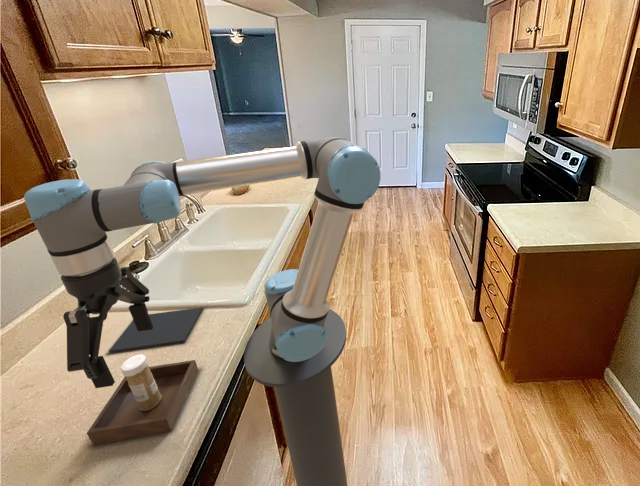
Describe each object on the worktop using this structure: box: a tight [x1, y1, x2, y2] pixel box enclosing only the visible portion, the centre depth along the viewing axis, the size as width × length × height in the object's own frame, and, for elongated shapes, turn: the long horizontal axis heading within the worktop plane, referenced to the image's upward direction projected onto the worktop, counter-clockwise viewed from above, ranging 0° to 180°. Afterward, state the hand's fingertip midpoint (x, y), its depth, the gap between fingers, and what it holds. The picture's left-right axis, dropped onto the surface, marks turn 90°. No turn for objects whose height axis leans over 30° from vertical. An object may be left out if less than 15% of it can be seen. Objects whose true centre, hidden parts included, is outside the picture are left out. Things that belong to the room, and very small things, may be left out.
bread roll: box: [231, 184, 251, 195], centre depth 209 cm, size 10×15×8 cm, turn 8°
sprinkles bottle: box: [120, 354, 162, 411], centre depth 77 cm, size 5×5×14 cm
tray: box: [86, 359, 199, 446], centre depth 79 cm, size 16×16×4 cm
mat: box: [108, 307, 204, 354], centre depth 102 cm, size 20×14×1 cm
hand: (127, 354), depth 66 cm, fingers open, 13 cm apart
